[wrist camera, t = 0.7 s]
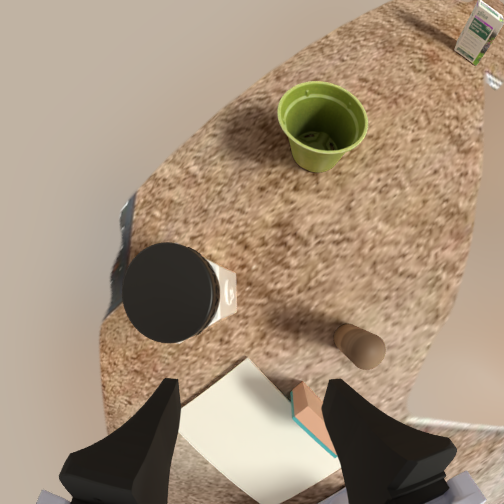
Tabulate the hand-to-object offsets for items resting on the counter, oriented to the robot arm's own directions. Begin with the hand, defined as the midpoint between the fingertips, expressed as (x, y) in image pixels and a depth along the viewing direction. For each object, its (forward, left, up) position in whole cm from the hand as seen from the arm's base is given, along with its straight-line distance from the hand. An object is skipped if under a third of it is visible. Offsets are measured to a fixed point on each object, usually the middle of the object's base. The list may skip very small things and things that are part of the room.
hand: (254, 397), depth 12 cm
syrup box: (+10, -65, -20) cm, 69 cm away
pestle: (-6, -6, -20) cm, 22 cm away
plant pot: (+13, -19, -20) cm, 31 cm away
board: (-10, +11, -20) cm, 25 cm away
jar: (+9, +3, -20) cm, 22 cm away
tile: (-10, +2, -20) cm, 23 cm away
